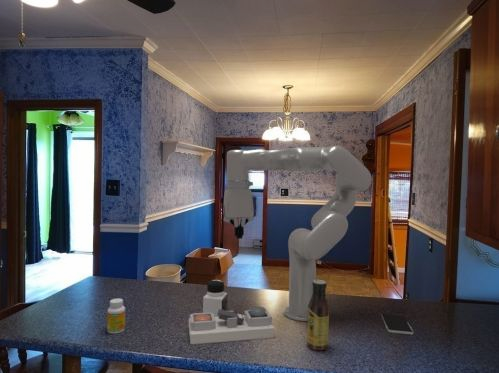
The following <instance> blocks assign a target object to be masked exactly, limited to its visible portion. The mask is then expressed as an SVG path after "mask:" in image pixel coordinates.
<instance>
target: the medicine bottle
mask: <svg viewBox="0 0 499 373" xmlns="http://www.w3.org/2000/svg"><path fill="white" fill-rule="evenodd" d="M206 287H207V288H206V291H207V292H206V294H205V295H204V296H203V298H202V304H203V305H202V313H208V312H210V313H214V317H218V314H217V313H218V310H219V309H221V310H225V311H228V292H225V282H224V281H222V280H220V279H212V280H209V281H208V282H207V286H206Z"/></svg>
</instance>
